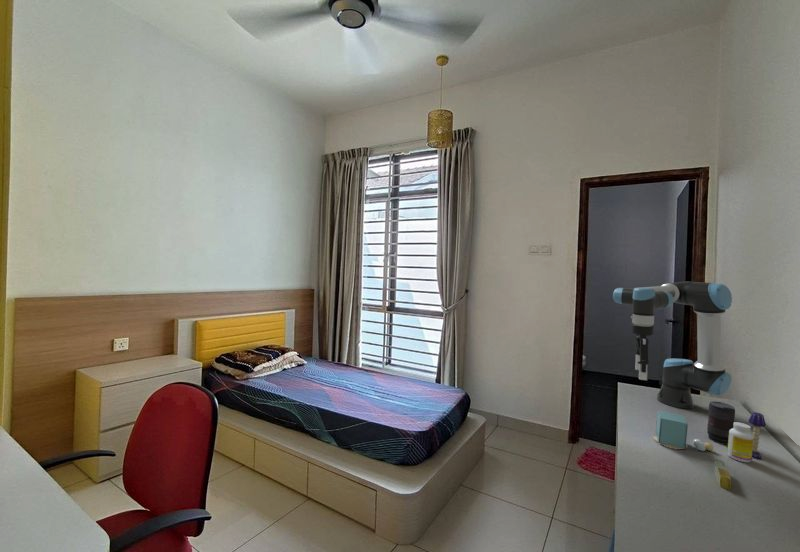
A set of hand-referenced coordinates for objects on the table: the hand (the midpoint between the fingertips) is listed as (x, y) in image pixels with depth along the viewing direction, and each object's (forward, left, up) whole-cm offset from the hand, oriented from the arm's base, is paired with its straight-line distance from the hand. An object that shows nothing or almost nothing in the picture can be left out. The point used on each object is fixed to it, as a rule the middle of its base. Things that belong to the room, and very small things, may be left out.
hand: (640, 374), depth 151 cm
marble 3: (-7, +22, -25) cm, 34 cm away
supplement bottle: (-10, +31, -25) cm, 41 cm away
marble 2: (-5, +21, -25) cm, 32 cm away
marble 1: (-7, +19, -25) cm, 32 cm away
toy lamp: (-17, +34, -25) cm, 45 cm away
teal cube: (-1, +12, -24) cm, 27 cm away
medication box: (+14, +30, -25) cm, 41 cm away
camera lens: (-22, +23, -25) cm, 40 cm away
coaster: (-1, +12, -25) cm, 27 cm away
